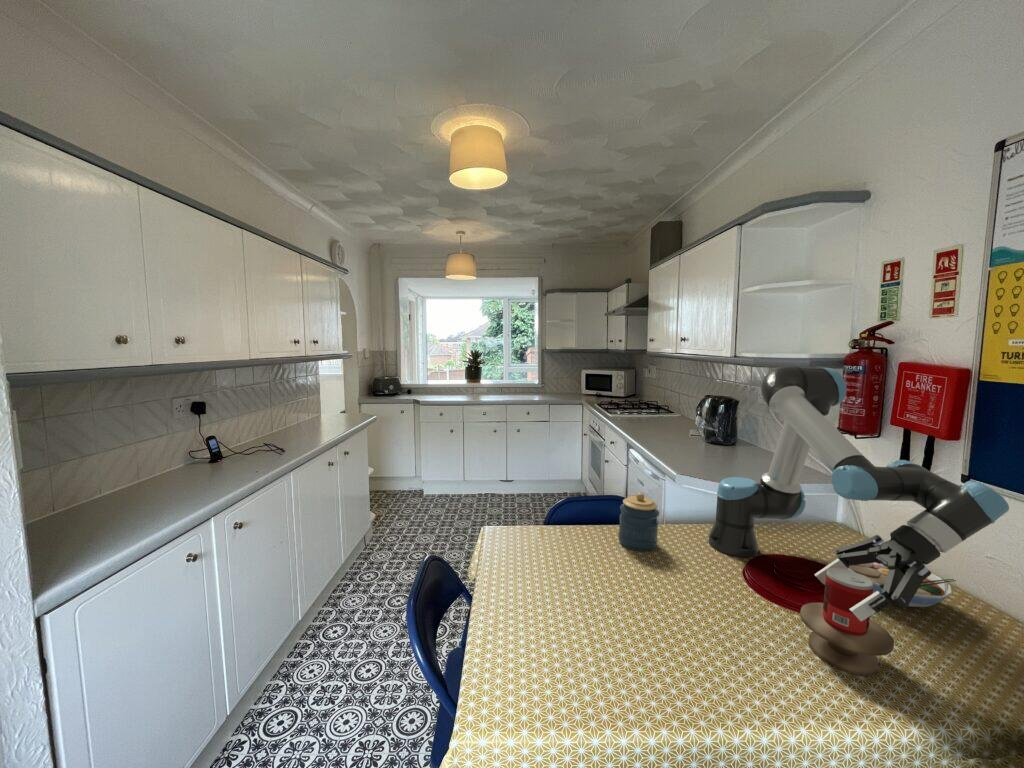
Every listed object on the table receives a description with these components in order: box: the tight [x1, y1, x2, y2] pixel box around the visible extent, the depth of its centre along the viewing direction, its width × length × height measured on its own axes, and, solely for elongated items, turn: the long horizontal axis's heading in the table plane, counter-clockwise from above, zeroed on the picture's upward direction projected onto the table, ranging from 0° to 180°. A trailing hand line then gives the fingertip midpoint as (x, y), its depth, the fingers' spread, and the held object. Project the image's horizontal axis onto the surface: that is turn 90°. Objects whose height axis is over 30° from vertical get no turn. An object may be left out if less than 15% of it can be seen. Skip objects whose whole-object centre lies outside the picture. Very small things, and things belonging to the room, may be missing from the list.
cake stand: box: [799, 602, 895, 677], centre depth 91 cm, size 16×16×7 cm
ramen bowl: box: [847, 563, 957, 608], centre depth 114 cm, size 25×23×8 cm
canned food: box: [822, 568, 873, 636], centre depth 91 cm, size 8×8×11 cm
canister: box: [617, 492, 660, 552], centre depth 142 cm, size 13×13×18 cm
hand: (835, 596), depth 91 cm, fingers open, 13 cm apart
